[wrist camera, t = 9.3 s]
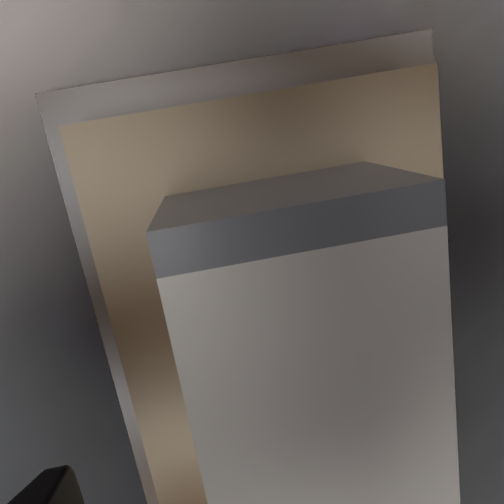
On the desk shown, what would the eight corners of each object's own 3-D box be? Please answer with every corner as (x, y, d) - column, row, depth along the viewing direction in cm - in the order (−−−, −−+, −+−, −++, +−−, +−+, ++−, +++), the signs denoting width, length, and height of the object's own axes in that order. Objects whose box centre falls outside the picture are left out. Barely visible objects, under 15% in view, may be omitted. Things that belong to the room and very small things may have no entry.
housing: (390, 434, 14) (462, 552, 10) (222, 468, 14) (230, 604, 10) (365, 161, 12) (445, 179, 8) (164, 196, 11) (145, 232, 8)
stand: (443, 434, 18) (490, 495, 15) (152, 496, 17) (142, 571, 14) (419, 33, 14) (476, 10, 11) (44, 95, 13) (0, 86, 10)
